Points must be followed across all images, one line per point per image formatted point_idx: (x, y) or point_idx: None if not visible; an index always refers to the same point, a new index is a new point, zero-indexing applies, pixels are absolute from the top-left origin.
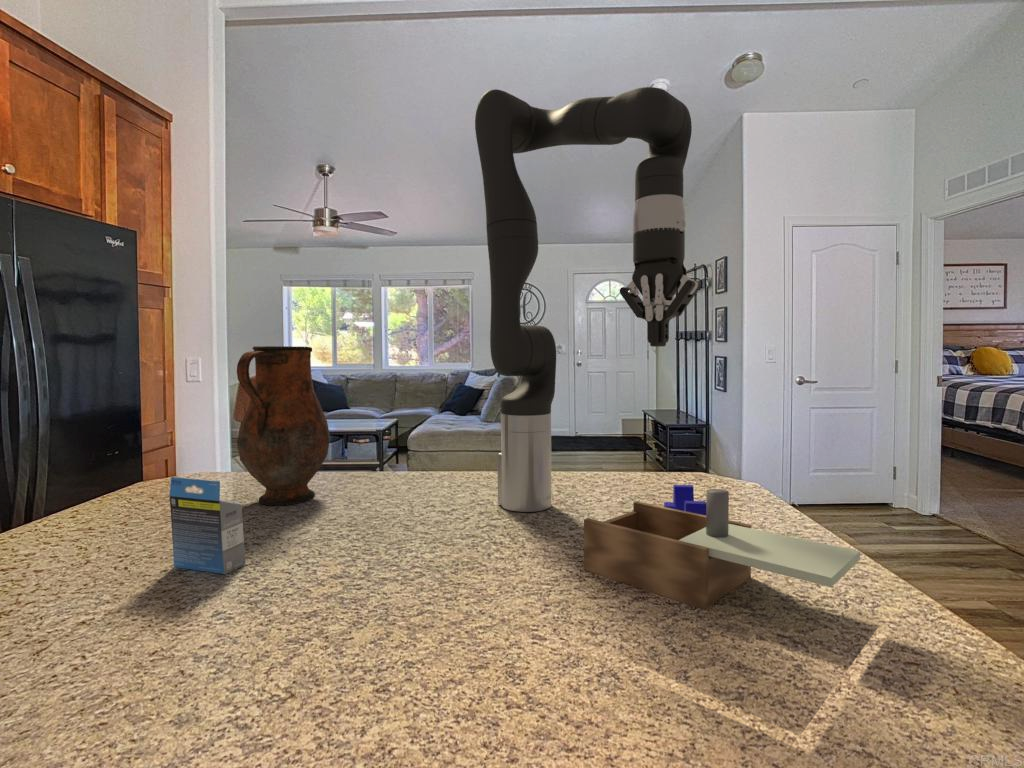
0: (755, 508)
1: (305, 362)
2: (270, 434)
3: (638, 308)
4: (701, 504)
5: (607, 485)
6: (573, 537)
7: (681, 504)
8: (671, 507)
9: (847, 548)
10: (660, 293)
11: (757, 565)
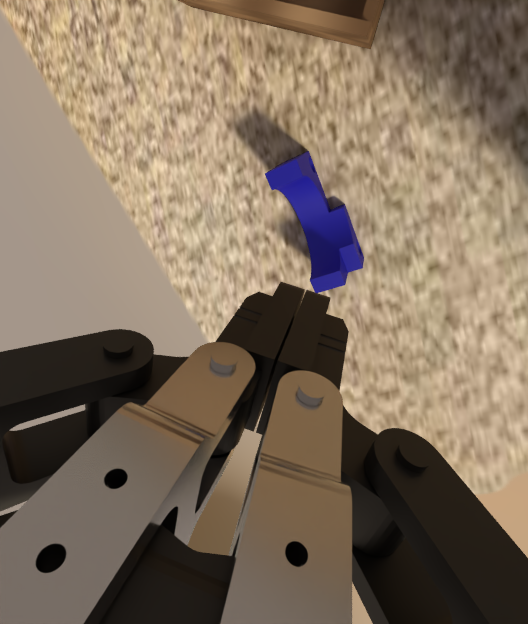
0: None
1: None
2: None
3: (420, 507)
4: (273, 170)
5: (499, 415)
6: (507, 63)
7: (330, 255)
8: (345, 244)
9: None
10: (70, 500)
11: None
